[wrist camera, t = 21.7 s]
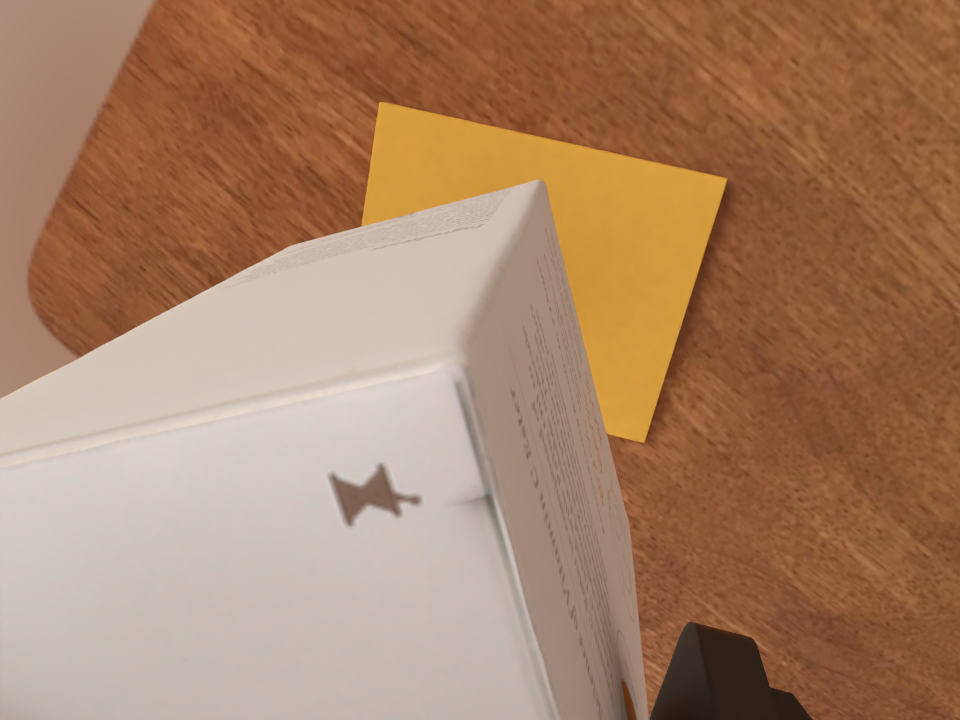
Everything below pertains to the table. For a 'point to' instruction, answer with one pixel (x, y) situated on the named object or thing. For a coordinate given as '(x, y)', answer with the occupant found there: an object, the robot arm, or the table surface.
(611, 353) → the ochre mat
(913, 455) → the table surface
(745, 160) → the table surface
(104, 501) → the small box
